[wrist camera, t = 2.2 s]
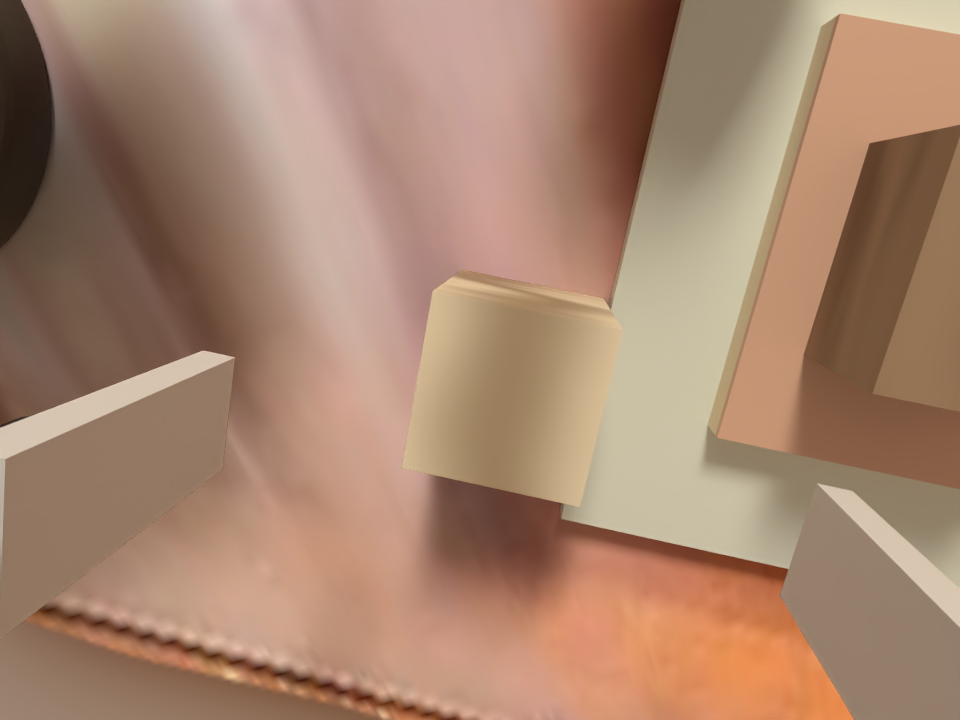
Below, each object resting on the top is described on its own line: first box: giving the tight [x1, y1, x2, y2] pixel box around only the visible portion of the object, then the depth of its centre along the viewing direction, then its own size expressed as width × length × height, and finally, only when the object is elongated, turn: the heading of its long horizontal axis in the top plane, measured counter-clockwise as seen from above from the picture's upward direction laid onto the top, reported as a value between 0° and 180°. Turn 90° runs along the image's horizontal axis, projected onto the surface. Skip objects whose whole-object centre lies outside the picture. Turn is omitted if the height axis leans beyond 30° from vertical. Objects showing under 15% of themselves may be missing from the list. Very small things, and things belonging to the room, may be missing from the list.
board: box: [560, 0, 960, 589], centre depth 23 cm, size 20×24×2 cm
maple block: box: [402, 270, 623, 507], centre depth 23 cm, size 6×6×7 cm
